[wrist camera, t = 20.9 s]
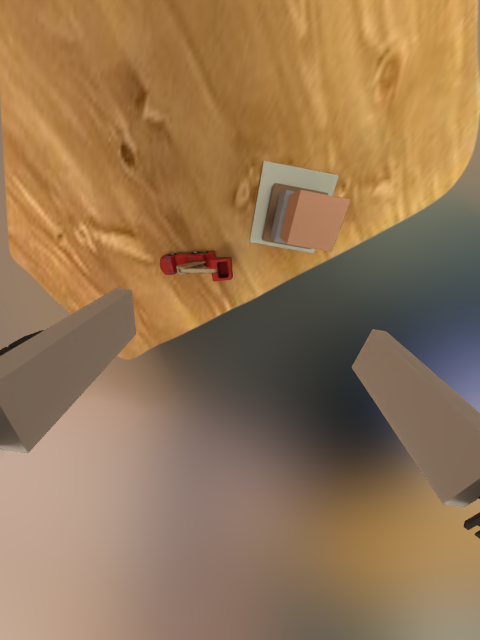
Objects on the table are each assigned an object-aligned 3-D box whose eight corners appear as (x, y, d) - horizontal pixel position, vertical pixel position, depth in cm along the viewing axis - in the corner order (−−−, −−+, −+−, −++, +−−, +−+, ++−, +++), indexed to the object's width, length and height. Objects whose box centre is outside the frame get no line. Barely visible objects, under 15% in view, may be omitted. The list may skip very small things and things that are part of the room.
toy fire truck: (163, 253, 40) (140, 265, 31) (234, 248, 39) (230, 259, 30) (168, 270, 41) (147, 286, 33) (235, 266, 40) (232, 281, 32)
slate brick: (279, 193, 30) (286, 189, 25) (319, 201, 30) (334, 199, 25) (270, 236, 33) (274, 241, 28) (306, 243, 33) (317, 249, 28)
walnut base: (272, 185, 33) (275, 182, 29) (320, 195, 33) (328, 193, 30) (261, 238, 37) (263, 241, 33) (304, 245, 37) (310, 249, 34)
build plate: (263, 162, 32) (263, 160, 31) (336, 176, 33) (338, 175, 32) (249, 241, 38) (249, 242, 37) (312, 252, 39) (313, 253, 38)
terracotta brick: (289, 194, 25) (300, 189, 20) (329, 202, 25) (350, 199, 20) (279, 237, 27) (286, 243, 22) (315, 244, 28) (331, 251, 22)
